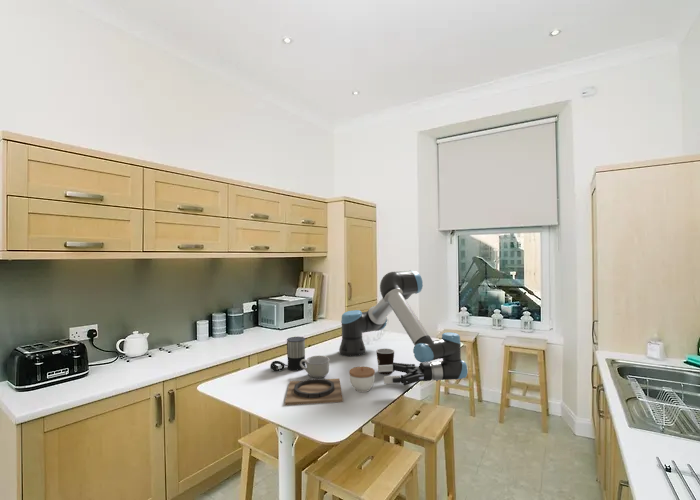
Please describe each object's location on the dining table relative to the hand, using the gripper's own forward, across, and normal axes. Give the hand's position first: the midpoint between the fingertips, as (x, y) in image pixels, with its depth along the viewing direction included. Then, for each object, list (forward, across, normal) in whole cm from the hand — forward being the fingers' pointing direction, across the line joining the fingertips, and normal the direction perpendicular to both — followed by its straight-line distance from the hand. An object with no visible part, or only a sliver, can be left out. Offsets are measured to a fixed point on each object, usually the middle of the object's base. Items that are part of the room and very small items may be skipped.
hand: (380, 374), depth 144 cm
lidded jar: (+8, 0, -6) cm, 10 cm away
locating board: (+28, 0, -6) cm, 29 cm away
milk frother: (+41, +31, -6) cm, 52 cm away
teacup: (+28, +19, -6) cm, 35 cm away
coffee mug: (-6, +20, -6) cm, 22 cm away
